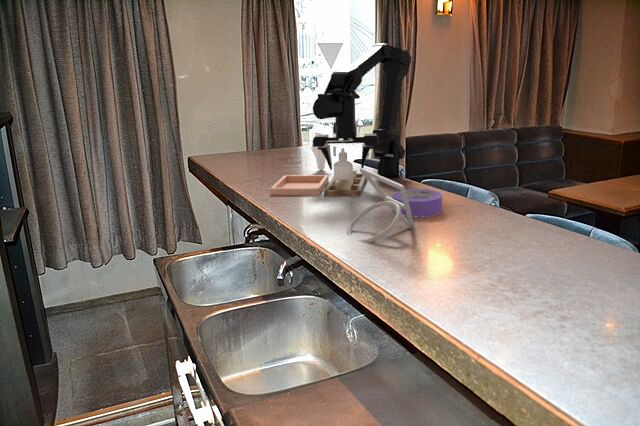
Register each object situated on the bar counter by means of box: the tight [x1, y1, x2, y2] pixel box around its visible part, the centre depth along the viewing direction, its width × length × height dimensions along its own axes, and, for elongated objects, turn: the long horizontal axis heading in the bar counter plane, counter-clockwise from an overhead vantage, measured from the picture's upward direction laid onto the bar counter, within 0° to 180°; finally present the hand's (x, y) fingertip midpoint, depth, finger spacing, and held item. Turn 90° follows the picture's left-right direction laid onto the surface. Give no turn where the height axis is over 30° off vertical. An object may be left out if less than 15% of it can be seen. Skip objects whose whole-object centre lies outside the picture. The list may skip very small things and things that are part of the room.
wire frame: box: [346, 167, 416, 244], centre depth 109 cm, size 18×13×16 cm
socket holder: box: [323, 172, 368, 197], centre depth 156 cm, size 10×24×2 cm, turn 171°
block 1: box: [336, 180, 352, 190], centre depth 148 cm, size 4×4×4 cm
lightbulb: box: [311, 143, 330, 171], centre depth 182 cm, size 6×6×11 cm
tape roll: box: [391, 188, 443, 218], centre depth 127 cm, size 12×12×5 cm
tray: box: [269, 174, 330, 196], centre depth 156 cm, size 14×18×2 cm
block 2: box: [353, 168, 358, 178], centre depth 163 cm, size 4×4×4 cm
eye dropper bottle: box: [333, 147, 354, 185], centre depth 154 cm, size 4×6×12 cm
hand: (346, 169), depth 155 cm, fingers open, 9 cm apart
